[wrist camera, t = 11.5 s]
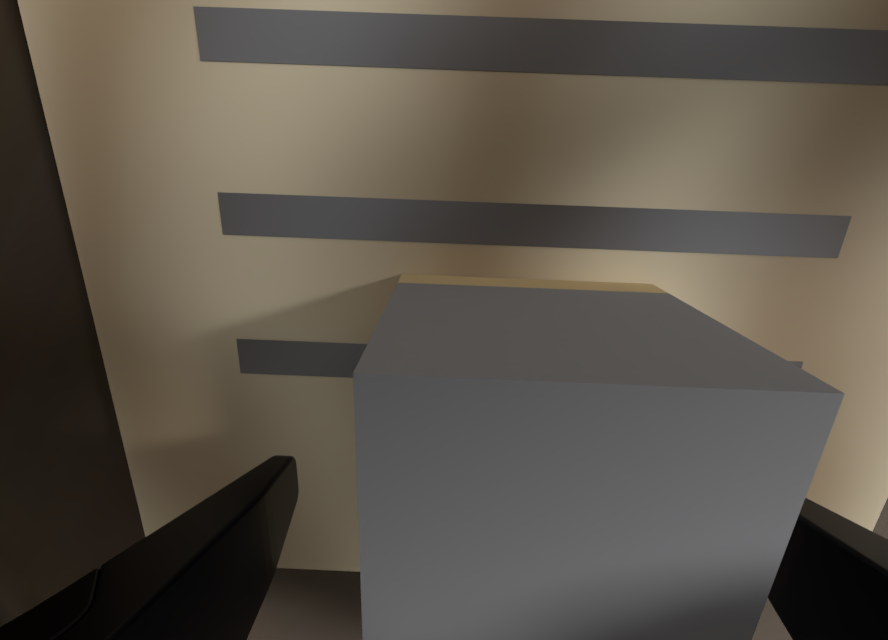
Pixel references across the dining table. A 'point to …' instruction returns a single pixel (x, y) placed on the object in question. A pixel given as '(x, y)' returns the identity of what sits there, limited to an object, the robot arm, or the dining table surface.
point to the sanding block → (573, 464)
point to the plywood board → (453, 203)
